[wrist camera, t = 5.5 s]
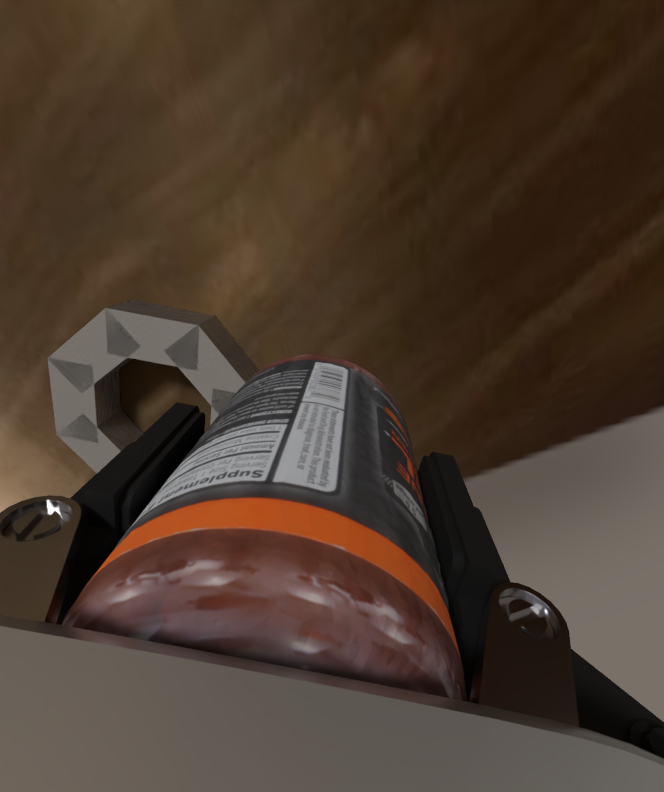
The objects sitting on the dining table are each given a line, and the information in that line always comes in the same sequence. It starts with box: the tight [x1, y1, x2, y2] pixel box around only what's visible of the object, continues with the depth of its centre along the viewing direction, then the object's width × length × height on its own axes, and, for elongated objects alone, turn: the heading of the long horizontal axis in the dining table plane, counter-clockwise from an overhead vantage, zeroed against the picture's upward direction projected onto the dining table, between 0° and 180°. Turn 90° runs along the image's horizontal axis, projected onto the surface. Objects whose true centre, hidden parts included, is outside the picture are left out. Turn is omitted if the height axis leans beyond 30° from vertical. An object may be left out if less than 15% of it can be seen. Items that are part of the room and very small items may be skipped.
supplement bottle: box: [61, 354, 468, 702], centre depth 8 cm, size 6×6×11 cm
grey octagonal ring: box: [47, 300, 259, 473], centre depth 28 cm, size 14×14×4 cm
